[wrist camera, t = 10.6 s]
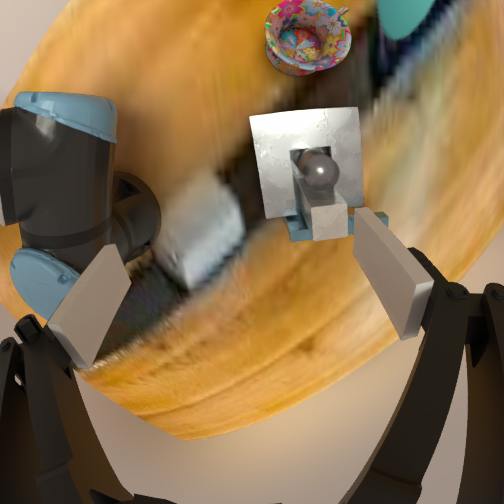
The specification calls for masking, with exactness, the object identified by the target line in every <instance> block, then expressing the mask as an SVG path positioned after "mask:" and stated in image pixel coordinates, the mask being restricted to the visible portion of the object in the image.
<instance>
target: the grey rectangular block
mask: <svg viewBox="0 0 504 504" xmlns="http://www.w3.org/2000/svg"><path fill="white" fill-rule="evenodd" d="M295 180H296V188H297V197H298V205H299V207H300V209H301V212H302V214H303V217H304V219H305V222H306V224H307V226H308V229H309V231H310V234H311V236H312V239H313V241H320V240H327V239H334V238H341V237H348V215H347V202H346V201H345V200H344V199H343V198H342V197H341V196H340V194H339V193H338V192H337V191H336V190H335V189H334V188H333V187H332V188H331V189H329V190H325V191H319V190H315V189H313V188H312V187H310V186H309V185H308V183H307V182H306V180H305V179H304V177H302V178H295Z"/></svg>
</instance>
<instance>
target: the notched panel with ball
mask: <svg viewBox="0 0 504 504" xmlns="http://www.w3.org/2000/svg"><path fill="white" fill-rule="evenodd" d="M250 123H251V129H252V135H253V140H254V146H255V152H256V158H257V164H258V170H259V176H260V183H261V189H262V195H263V201H264V208H265V214H266V219H268V218H275V217H282V216H283V221H284V222H286V224H287V228H288V232H289V236H290V240H291V242H297V241H304V240H311V239H312V236H311V234H310V231H309V229H308V226H307V224H306V222H305V219H304V217H303V214H302V212H301V209H300V207H299V205H298V197H297V188H296V180H295V178H302V177H304V179H305V180H306V182H307V183H308V185H309V186H310V187H312V188H313V189H315V190H319V191H325V190H329V189H331V188H332V187H333V188H334V189H335V190H336V191H337V192H338V193H339V194H340V196H341V197H342V198H343V199H344V200H345V201H346V202H347V208H353V207H361V206H363V169H362V150H361V136H360V125H359V114H358V107H341V108H322V109H309V110H298V111H288V112H279V113H271V114H264V115H257V116H250ZM374 214H375V215H376V216H377V217H378V218H379V219H380V220H381V221H382V222H383V223H384V224H385V225H386V226H387V227H388V219H389V217H388V216H387V215H386V214H385V213H384V212H374ZM347 215H348V214H347ZM348 234H354V215H350V217H349V215H348Z"/></svg>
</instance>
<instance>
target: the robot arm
mask: <svg viewBox="0 0 504 504" xmlns="http://www.w3.org/2000/svg"><path fill="white" fill-rule="evenodd" d="M14 105H15V107H12V108H7V109H2V110H0V225H2V226H3V227H4V226H8V225H11V224H15V223H19V227H20V233H21V239H22V249H21V248H20V249H18V250H17V251H16V252H15V254H14V257H13V260H12V261H11V263H10V273H11V278H12V281H13V283H14V285H15V288H16V289H17V291H18V293H19V294H20V296H21V297H22V298H23V300H24V301H25V302H26V303H27V304H28V305H29V306H30V307H31V308H32V309H33V310H34V311H35V312H36V313H38V314H39V315H40V316H42V317H43V318H45V319H46V320H48V322H47V323H46V325H45V326H44V328H42V327H41V325H40V324H39V322H38V321H37V319H36V317H35V316H34V315H33V314H28V315H26V316H24V317H23V318H21V319H20V320H19V321H18V322H17V324H16V325H15V328H14V331H15V332H16V334H17V335H18V336H19V338H20V339H21V341H22V342H23V343H21V344H18V343H17V342H16V340H15V339H14V338H13V337H8V338H6V339H4V340H3V341H2V342H1V344H0V504H176V503H174V502H171V501H168V500H166V499H160V498H153V497H148V496H143V495H139V494H134V497H133V496H132V495H131V494H130V493H129V492H128V491H127V490H126V489H125V488H124V487H123V486H122V485H121V483H120V482H119V480H118V478H117V476H116V474H115V473H114V471H113V469H112V467H111V465H110V463H109V461H108V459H107V457H106V455H105V453H104V451H103V448H102V446H101V444H100V442H99V440H98V437H97V435H96V433H95V430H94V428H93V426H92V424H91V421H90V418H89V416H88V413H87V410H86V408H85V405H84V402H83V399H82V397H81V394H80V391H79V388H78V385H77V381H76V378H75V375H74V371H73V369H72V367H71V366H70V365H69V364H70V361H71V359H72V360H73V361H74V363H75V364H76V365H77V366H78V368H89V369H90V368H91V366H92V363H93V361H94V359H95V357H96V354H97V352H98V350H99V348H100V345H101V343H102V341H103V339H104V337H105V335H106V333H107V330H108V328H109V326H110V324H111V322H112V320H113V318H114V316H115V314H116V312H117V310H118V308H119V306H120V304H121V302H122V300H123V298H124V296H125V294H126V293H127V291H128V289H129V287H130V285H131V281H130V279H129V276H128V274H127V272H126V269H125V267H124V266H125V264H126V263H127V262H129V261H131V260H133V259H135V258H137V257H139V256H141V255H142V254H144V253H145V252H146V251H147V250H148V249H149V248H150V247H151V245H152V244H153V242H154V241H155V239H156V237H157V235H158V233H159V230H160V225H161V214H160V208H159V205H158V202H157V200H156V198H155V196H154V194H153V193H152V191H151V190H150V188H149V187H148V186H147V185H146V184H145V183H144V182H143V181H141V180H140V179H138V178H137V177H135V176H133V175H131V174H128V173H124V172H114V158H115V148H116V144H117V142H118V140H117V138H116V128H117V116H118V111H117V107H116V105H115V103H114V102H113V101H112V100H110V99H108V98H105V97H100V96H94V95H86V94H76V93H63V92H20V93H18V94H17V96H16V99H15V100H14ZM353 254H354V256H355V258H356V259H357V261H358V263H359V264H360V266H361V268H362V269H363V271H364V273H365V275H366V276H367V278H368V280H369V281H370V283H371V285H372V287H373V289H374V290H375V292H376V294H377V296H378V297H379V299H380V301H381V303H382V305H383V307H384V308H385V310H386V312H387V314H388V316H389V318H390V320H391V322H392V323H393V325H394V327H395V329H396V331H397V333H398V335H399V337H400V339H401V340H405V339H409V338H412V337H416V336H418V333H419V330H420V327H421V326H422V328H423V329H424V331H425V335H424V337H423V340H422V343H421V345H420V348H419V352H418V355H417V358H416V361H415V364H414V366H413V369H412V371H411V374H410V376H409V379H408V381H407V384H406V386H405V389H404V391H403V393H402V396H401V398H400V400H399V403H398V405H397V407H396V409H395V411H394V413H393V415H392V417H391V420H390V421H389V424H388V426H387V427H386V429H385V431H384V433H383V435H382V437H381V439H380V441H379V442H378V444H377V446H376V448H375V449H374V452H373V453H372V455H371V456H370V458H369V460H368V462H367V463H366V465H365V466H364V468H363V469H362V471H361V473H360V474H359V476H358V477H357V479H356V480H355V482H354V483H353V485H352V486H351V488H350V489H349V490H348V491H347V493H346V494H345V495H344V497H343V498H342V499H341V501H340V502H339V503H338V504H416V503H417V501H418V499H419V497H420V495H421V491H422V486H421V482H422V479H423V476H424V474H425V472H426V470H427V468H428V465H429V463H430V461H431V458H432V456H433V454H434V451H435V449H436V446H437V444H438V441H439V438H440V436H441V433H442V430H443V427H444V424H445V421H446V418H447V415H448V412H449V409H450V405H451V402H452V399H453V395H454V391H455V387H456V383H457V379H458V375H459V370H460V365H461V361H462V355H463V350H464V345H465V349H466V362H467V378H468V420H467V437H466V448H465V458H464V465H463V472H462V478H461V484H460V489H459V494H458V498H457V503H456V504H504V286H503V285H501V284H498V283H489V284H487V285H486V287H485V289H484V292H483V294H475V293H474V294H473V293H469V292H468V290H467V289H466V288H465V287H464V286H463V285H461V284H458V283H455V282H448V281H447V280H446V279H445V277H444V276H443V275H442V274H441V273H440V272H439V271H438V269H437V268H436V267H435V266H433V264H432V263H431V261H430V260H428V258H427V257H426V256H425V255H424V254H423V253H422V252H421V251H419V250H417V249H415V248H414V247H412V248H406V247H405V246H404V245H403V244H402V243H401V241H400V240H399V239H398V238H397V237H396V236H395V235H394V234H393V233H392V232H391V231H390V230H389V228H388V227H387V226H386V225H385V224H384V223H383V222H382V221H381V220H380V219H379V218H378V217H377V216H376V215H375V214H374V213H373V212H372V211H371V210H370V209H369V208H368V207H363V208H354V249H353ZM15 375H16V376H17V378H18V379H19V380H20V381H21V385H19V384H18V383H17V382H16V381H15ZM278 504H282V503H278Z"/></svg>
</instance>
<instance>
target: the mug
mask: <svg viewBox="0 0 504 504" xmlns="http://www.w3.org/2000/svg"><path fill="white" fill-rule="evenodd" d="M348 10H349V8H348V7H347V6H346V5H345V6H343V7H341V8H339V9H338V10H336V9H335V8H333V7H332V6H330V5H329V4H327V3H325V2H322V1H320V0H286V1H284V2H282V3H280V4H278V5H277V6H276V7H275V8H274V9H273V10H272V11H271V12H270V14H269V15H268V17H267V20H266V23H265V36H266V44H265V50H266V54H267V57H268V59H269V60H270V62H271V63H272V64H273V65H274V66H275V67H276V68H277V69H279V70H280V71H282V72H284V73H286V74H290V75H295V76H303V75H308V74H311V73H313V72H315V71H317V70H324V69H328V68H331V67H333V66H335V65H337V64H338V63H340V62H341V61H342V60H343V59H344V58H345V56H346V55H347V53H348V51H349V49H350V45H351V33H350V29H349V26H348V24H347V22H346V20H345V19H344V17H343V16H342V15H343V14H345V13H346V12H347V11H348Z"/></svg>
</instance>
